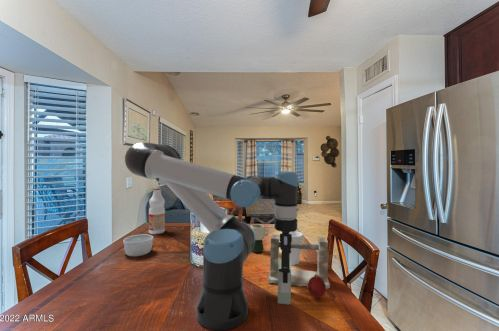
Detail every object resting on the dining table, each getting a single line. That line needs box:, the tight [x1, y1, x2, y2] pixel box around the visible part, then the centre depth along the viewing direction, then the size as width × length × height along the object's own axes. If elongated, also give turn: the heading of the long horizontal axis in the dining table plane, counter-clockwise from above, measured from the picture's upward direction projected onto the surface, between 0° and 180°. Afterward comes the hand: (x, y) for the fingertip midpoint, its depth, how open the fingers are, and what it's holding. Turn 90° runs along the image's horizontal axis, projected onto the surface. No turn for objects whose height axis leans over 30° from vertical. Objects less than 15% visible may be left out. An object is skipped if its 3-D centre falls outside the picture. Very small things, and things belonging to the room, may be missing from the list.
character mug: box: [250, 223, 269, 253], centre depth 120 cm, size 11×7×13 cm, turn 85°
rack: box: [267, 234, 331, 289], centre depth 92 cm, size 22×10×16 cm, turn 81°
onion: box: [307, 274, 327, 299], centre depth 79 cm, size 6×6×8 cm
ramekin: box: [122, 233, 154, 257], centre depth 117 cm, size 13×13×7 cm
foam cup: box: [289, 230, 304, 266], centre depth 108 cm, size 10×9×13 cm
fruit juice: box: [148, 186, 166, 235], centre depth 149 cm, size 9×9×28 cm
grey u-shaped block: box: [277, 258, 292, 305], centre depth 80 cm, size 4×8×11 cm, turn 171°
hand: (285, 281), depth 80 cm, fingers open, 13 cm apart
